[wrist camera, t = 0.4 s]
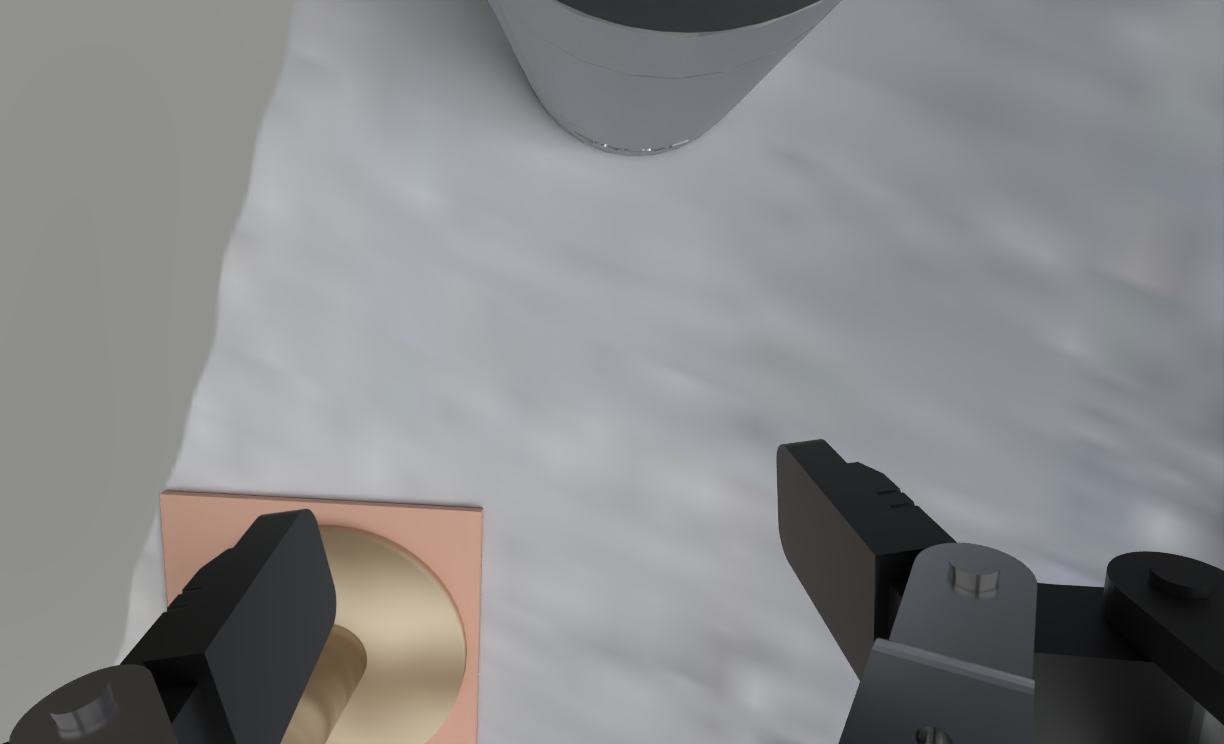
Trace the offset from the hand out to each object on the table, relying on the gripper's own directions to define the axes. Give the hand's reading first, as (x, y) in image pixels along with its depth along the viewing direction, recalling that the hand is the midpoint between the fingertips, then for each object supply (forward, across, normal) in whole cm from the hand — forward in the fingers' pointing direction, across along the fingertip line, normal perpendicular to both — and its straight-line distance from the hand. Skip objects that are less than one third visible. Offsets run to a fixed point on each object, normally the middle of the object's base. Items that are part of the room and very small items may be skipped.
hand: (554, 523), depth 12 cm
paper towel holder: (+16, +12, +14) cm, 25 cm away
